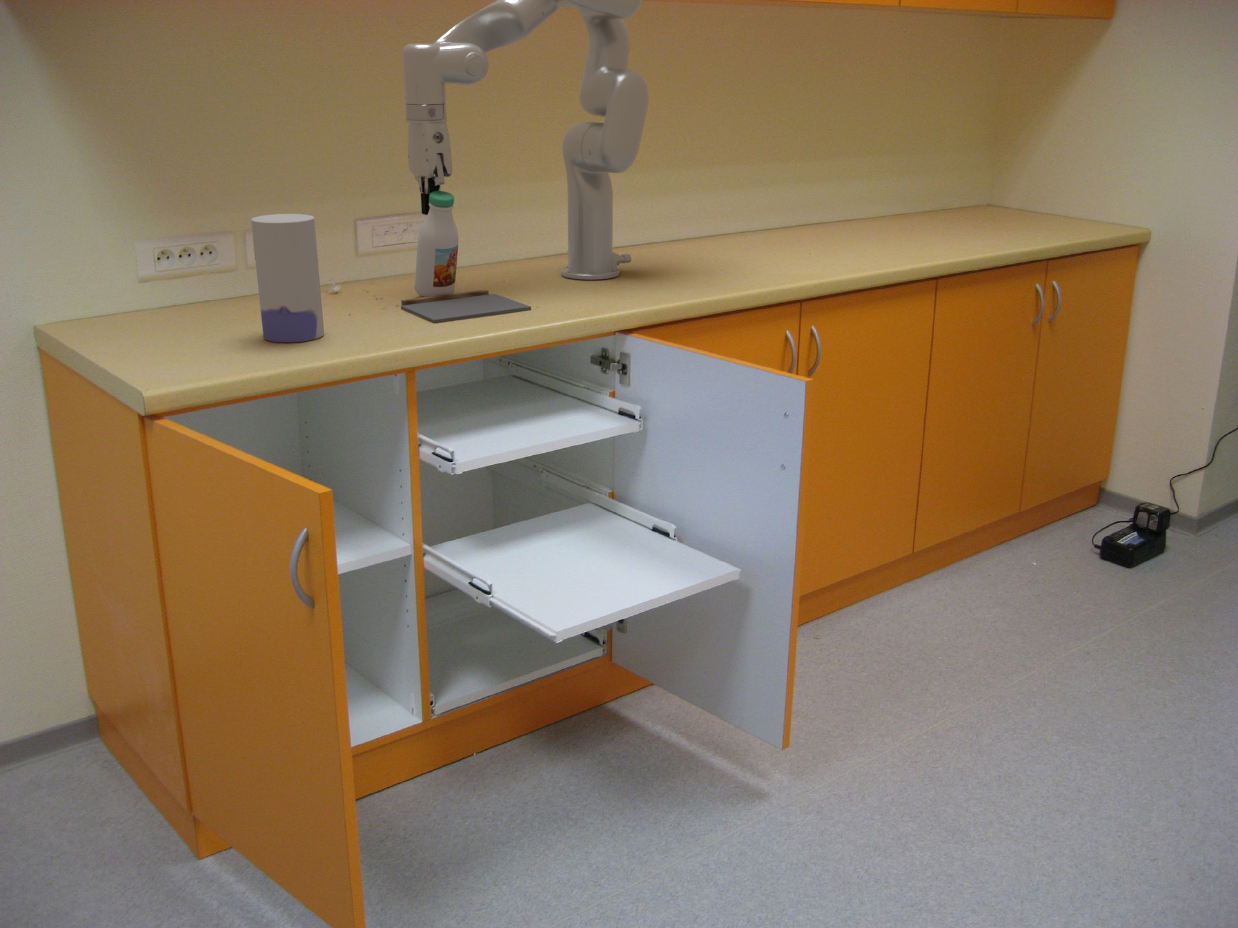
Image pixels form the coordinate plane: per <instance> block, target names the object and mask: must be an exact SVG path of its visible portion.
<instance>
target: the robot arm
mask: <svg viewBox="0 0 1238 928" xmlns="http://www.w3.org/2000/svg"><path fill="white" fill-rule="evenodd" d="M642 2H643V0H496V1H494V2H492V3H490V4H489V5H486V6H485V7H482V8H481V9H480V10H478V11H476V12H475V13H473V14H471V15H469V16H468V17H465V18H464V19H462V20H461V21H459V22H458V23H457V24H455V25H453V26H452V27H451V28H449V29H448V30H447V31H446V32H445V33H444V34H442V35H441V36H440V37H439V38H437V40H435V41H434V42H433V43H408V44H406V45H404V47H403V48H402V72H403V73H402V75H403V89H404V90H403V91H404V107H405V123H407V124H408V125H407V126H408V127H407V157H408V158H407V160H408V169H409V171H410V173H411V174H413V175H414V180H415V181H417V182H418V188H419V192H420V205H421V206H420V207H421V208H420V209H421V214H422V215H424V216H427V215H428V212H429V209H430V206H429V196H430V193H432V192H434V191H442V190H441V189H442V188H441V186H443V185H445V184H446V183H445V177H446V178H450V177H451V176H452V175H453V161H452V160H453V159H452V151H451V150H452V149H451V141H450V135H449V127H448V124H447V121H448V118H447V114H448V113H447V101H446V100H447V96H446V85H456V86H457V85H458V86H473V85H476V84H478V83H479V82H481V81H482V80H483V79H484V78H485V77H486V75H487V74H488V71H489V67H490V64H489V63H490V62H489V58H488V56H487V53H489V52H491V51H493V50H496V49H499V48H503V47H507V46H510V45H513V44H515V43H518V42H520V41H522V40H525V39H527V37H529V36H530V35H531V34H532V33H533V32H535V31H536V30H537V29H538V28H539V27H540V26H542V25H543V23H545V22H546V21H547V20H548V19H549V18H551V17H552V16H553V15H554V14H556V13H557V12H558V11H559V10H560V9H562V8H575V9H576V11H577V13H578V14H579V16H580V18H581V19H582V21H583V23H584V24H585V28H586V30H587V34H588V35H587V36H588V47H587V54H586V59H585V64H584V69H583V74H582V80H581V83H580V84H581V85H580V91H579V97H578V98H579V104H580V106H581V108H582V110H583V111H584V112H585V113H587V114H589V115H591V116H595V117H603V118H604V121H603V122H594V121H583V122H582V121H581V122H577V123H575V124H573V125H572V126H571V127H570V128H568V130H567V131H566V132H565V135H564V136H563V141H562V147H561V148H562V157H563V163H564V168H565V173H566V184H567V250H568V251H567V253H568V255H567V258H568V259H567V261H568V265H566V266H564V267H562V268H561V269H560V275H561V276H563V277H564V278H568V279H574V280H584V281H585V280H586V281H587V280H588V281H589V280H590V281H592V280H595V281H597V280H598V281H599V280H607V279H612V278H613V279H614V278H617V277H618V276H620V275H621V274H620V268H619V267H618V266H619V265H620V264H629V263H631V261H632V256H631V254H630V253H626V254H625V253H624V254H618V253H617V252H613V250H614V249H613V244H614V243H613V241H614V240H613V239H614V238H613V237H614V236H613V232H614V231H613V220H614V219H613V215H614V214H613V211H614V210H613V207H614V205H613V204H614V203H613V200H614V195H613V194H614V193H613V192H614V191H613V185H612V181H611V180H612V179H611V177H610V173H611V174H621V173H624V172H626V171H628V170H629V169H630V168H631V167H632V166H633V164H634V162H635V161H636V158H637V157H638V153H639V150H640V145H641V143H642V142H641V140H642V136H643V131H644V129H645V128H644V127H645V122H646V118H647V113H648V108H649V102H650V101H649V97H650V94H649V88H648V85H647V84H648V83H647V82H646V80H645V78H644V77H643V75H642V74H640V73H638V72H637V71H636V70H632V69H630V68H629V69H628V65H629V58H630V51H631V49H630V48H631V41H630V40H631V38H630V34H629V31H628V30H629V29H628V28H627V25H626V22H625V20H624V19H628V18H630V17H633V16H634V15H635V14H637V12H638V11H639V9H640V8H641V6H642Z"/></svg>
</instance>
